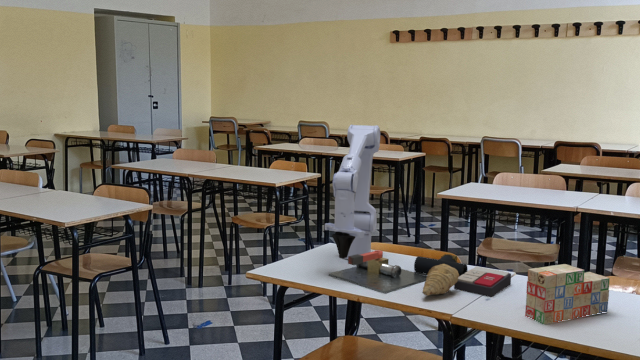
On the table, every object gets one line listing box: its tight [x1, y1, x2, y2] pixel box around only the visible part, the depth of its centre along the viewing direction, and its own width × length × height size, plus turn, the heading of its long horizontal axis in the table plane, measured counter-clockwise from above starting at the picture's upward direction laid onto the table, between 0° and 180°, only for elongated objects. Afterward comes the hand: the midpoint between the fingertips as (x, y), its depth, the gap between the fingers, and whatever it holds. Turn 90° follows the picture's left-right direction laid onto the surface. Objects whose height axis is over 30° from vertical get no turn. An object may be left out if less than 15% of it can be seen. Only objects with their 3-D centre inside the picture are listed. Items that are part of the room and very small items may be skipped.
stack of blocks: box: [524, 263, 611, 325], centre depth 149 cm, size 21×6×12 cm, turn 114°
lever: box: [347, 249, 384, 266], centre depth 178 cm, size 13×3×2 cm, turn 133°
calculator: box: [453, 265, 512, 298], centre depth 171 cm, size 11×4×15 cm
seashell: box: [421, 264, 459, 296], centre depth 162 cm, size 14×8×8 cm, turn 148°
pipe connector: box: [413, 253, 468, 276], centre depth 184 cm, size 12×5×15 cm
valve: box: [328, 257, 427, 294], centre depth 178 cm, size 22×21×5 cm
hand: (343, 257), depth 178 cm, fingers closed
